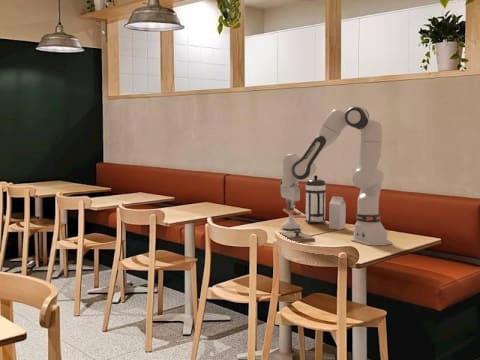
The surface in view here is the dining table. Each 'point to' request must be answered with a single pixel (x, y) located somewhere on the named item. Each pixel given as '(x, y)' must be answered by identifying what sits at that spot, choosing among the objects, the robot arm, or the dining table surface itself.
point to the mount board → (297, 236)
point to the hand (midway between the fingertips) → (290, 207)
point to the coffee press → (315, 200)
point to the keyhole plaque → (292, 210)
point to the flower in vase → (290, 223)
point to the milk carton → (337, 213)
